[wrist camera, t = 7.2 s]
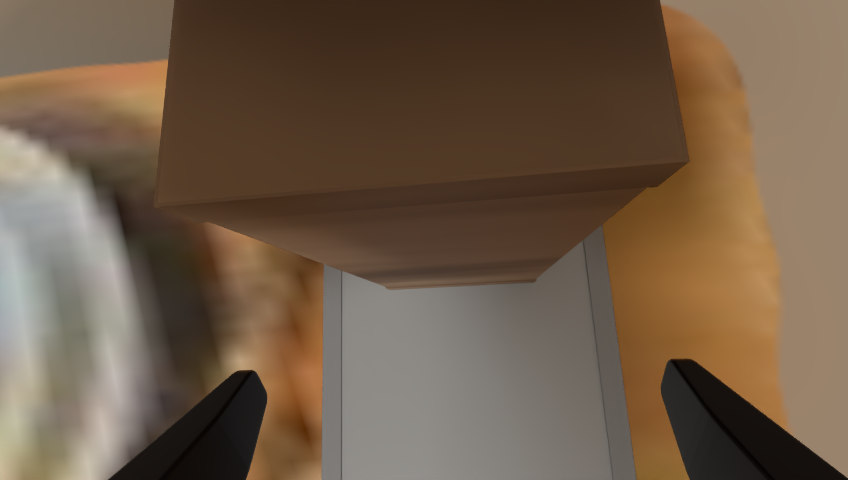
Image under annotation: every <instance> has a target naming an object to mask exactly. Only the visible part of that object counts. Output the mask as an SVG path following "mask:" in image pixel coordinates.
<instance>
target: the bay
mask: <svg viewBox="0 0 848 480" xmlns="http://www.w3.org/2000/svg"><path fill="white" fill-rule="evenodd" d="M322 480H636V472H635V465H634V457H633V450H632V443H631V435H630V428H629V420H628V413H627V405H626V398H625V391H624V383H623V376H622V368H621V361H620V353H619V346H618V339H617V331H616V324H615V316H614V309H613V301H612V294H611V286H610V279H609V272H608V264H607V257H606V249H605V242H604V234H603V227H602V225H601V226H599V227H598V228H597V229H596V230H595V231H593V232H592V233H591V234H590V235H589V236H587V237H586V238H585V239H584V240H583V241H581V242H580V243H579V244H578V245H576V246H575V247H574V248H573V249H572V250H570V251H569V252H568V253H567V254H566V255H564V256H563V257H562V258H561V259H559V260H558V261H557V262H556V263H555V264H553V265H552V266H551V267H550V268H549V269H547V270H546V271H545V272H544V273H543V274H541V275H540V276H539V277H538V278H537V281H536V282H534V283H517V284H497V285H478V286H459V287H440V288H420V289H401V290H388V289H386V287H385V286H382V285H379V284H376V283H374V282H371V281H368V280H366V279H363V278H360V277H357V276H355V275H352V274H349V273H347V272H344V271H341V270H338V269H336V268H333V267H330V266H327V265H325V264H324V301H323V399H322Z"/></svg>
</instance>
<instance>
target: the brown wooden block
mask: <svg viewBox="0 0 848 480" xmlns="http://www.w3.org/2000/svg"><path fill="white" fill-rule="evenodd" d="M688 162H689V156H688V151H687V145H686V140H685V134H684V129H683V124H682V118H681V113H680V107H679V102H678V97H677V91H676V86H675V80H674V75H673V69H672V64H671V59H670V53H669V48H668V42H667V37H666V32H665V26H664V21H663V15H662V10H661V4H660V0H174V10H173V20H172V30H171V40H170V50H169V60H168V69H167V79H166V89H165V99H164V109H163V119H162V129H161V139H160V148H159V158H158V168H157V178H156V188H155V198H154V208H157V209H160V210H163V211H165V212H168V213H171V214H174V215H177V216H180V217H183V218H185V219H188V220H191V221H194V222H197V223H204V222H210V223H213V224H216V225H219V226H221V227H224V228H227V229H229V230H232V231H235V232H238V233H240V234H243V235H246V236H249V237H251V238H254V239H257V240H259V241H262V242H265V243H268V244H270V245H273V246H276V247H278V248H281V249H284V250H287V251H289V252H292V253H295V254H298V255H300V256H303V257H306V258H308V259H311V260H314V261H317V262H319V263H322V264H325V265H327V266H330V267H333V268H336V269H338V270H341V271H344V272H347V273H349V274H352V275H355V276H357V277H360V278H363V279H366V280H368V281H371V282H374V283H376V284H379V285H382V286H385V287H386V289H388V290H401V289H420V288H440V287H459V286H478V285H497V284H517V283H534V282H536V281H537V278H538V277H539V276H540V275H541V274H543V273H544V272H545V271H546V270H547V269H549V268H550V267H551V266H552V265H553V264H555V263H556V262H557V261H558V260H559V259H561V258H562V257H563V256H564V255H566V254H567V253H568V252H569V251H570V250H572V249H573V248H574V247H575V246H576V245H578V244H579V243H580V242H581V241H583V240H584V239H585V238H586V237H587V236H589V235H590V234H591V233H592V232H593V231H595V230H596V229H597V228H598V227H599V226H601V225H602V224H603V223H604V222H606V221H607V220H608V219H609V218H610V217H612V216H613V215H614V214H615V213H616V212H618V211H619V210H620V209H621V208H623V207H624V206H625V205H626V204H627V203H629V202H630V201H631V200H632V199H633V198H635V197H636V196H637V195H638V194H639V193H641V192H642V191H643V190H644V189H646V188H647V187H657V186H659V185H660V184H661V183H662V182H664V181H665V180H666V179H668V178H669V177H670V176H671V175H673V174H674V173H675V172H676V171H678V170H679V169H680V168H682V167H683V166H684V165H685V164H687V163H688Z"/></svg>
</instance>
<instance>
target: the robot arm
mask: <svg viewBox="0 0 848 480" xmlns="http://www.w3.org/2000/svg"><path fill="white" fill-rule="evenodd" d="M661 394H662V398H663V401H664V404H665V407H666V410H667V413H668V416H669V419H670V423H671V426H672V429H673V432H674V435H675V438H676V441H677V444H678V447H679V450H680V453H681V456H682V460H683V462H684V465H685V468H686V471H687V474H688V476H689V478H690V480H848V478H847V477H845V476H844V475H843V474H841V473H840V472H839V471H838V470H836V469H835V468H834V467H832V466H831V465H830V464H828V463H827V462H826V461H824V460H823V459H822V458H821V457H819V456H818V455H817V454H815V453H814V452H813V451H811V450H810V449H809V448H807V447H806V446H805V445H803V444H802V443H801V442H800V441H798V440H797V439H796V438H794V437H793V436H792V435H791V434H789V433H788V432H787V431H785V430H784V429H783V428H781V427H780V426H779V425H778V424H776V423H775V422H774V421H772V420H771V419H770V418H768V417H767V416H766V415H765V414H763V413H762V412H761V411H759V410H758V409H757V408H755V407H754V406H753V405H751V404H750V403H749V402H748V401H746V400H745V399H744V398H742V397H741V396H740V395H738V394H737V393H736V392H735V391H733V390H732V389H731V388H729V387H728V386H727V385H725V384H724V383H723V382H721V381H720V380H719V379H718V378H716V377H715V376H714V375H712V374H711V373H710V372H708V371H707V370H706V369H705V368H703V367H702V366H701V365H699V364H698V363H697V362H695V361H693V360H691V359H670V360H669V361H668V362H667V365H666V368H665V372H664V376H663V380H662V383H661ZM266 404H267V392H266V390H265V388H264V386H263V384H262V382H261V380H260V378H259V376H258V374H257V373H256V372H255V371H253V370H241V371H236V372H235V373H233V374H232V375H231V376H230V377H228V378H227V379H226V380H225V381H224V382H223V383H221V384H220V385H219V386H218V387H217V388H215V389H214V390H213V391H212V392H211V393H210V394H208V395H207V396H206V397H205V398H204V399H203V400H201V401H200V402H199V403H198V404H197V405H195V406H194V407H193V408H192V409H191V410H190V411H188V412H187V413H186V414H185V415H184V416H183V417H181V418H180V419H179V420H178V421H177V422H175V423H174V424H173V425H172V426H171V427H170V428H168V429H167V430H166V431H165V432H164V433H163V434H161V435H160V436H159V437H158V438H157V439H155V440H154V441H153V442H152V443H151V444H150V445H148V446H147V447H146V448H145V449H144V450H142V451H141V452H140V453H139V454H138V455H137V456H135V457H134V458H133V459H132V460H131V461H130V462H128V463H127V464H126V465H125V466H124V467H122V468H121V469H120V470H119V471H118V472H117V473H115V474H114V475H113V476H112V477H111V478H110V479H108V480H246V478H247V475H248V472H249V469H250V465H251V462H252V459H253V455H254V451H255V447H256V443H257V439H258V435H259V431H260V427H261V424H262V420H263V416H264V412H265V408H266Z"/></svg>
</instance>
